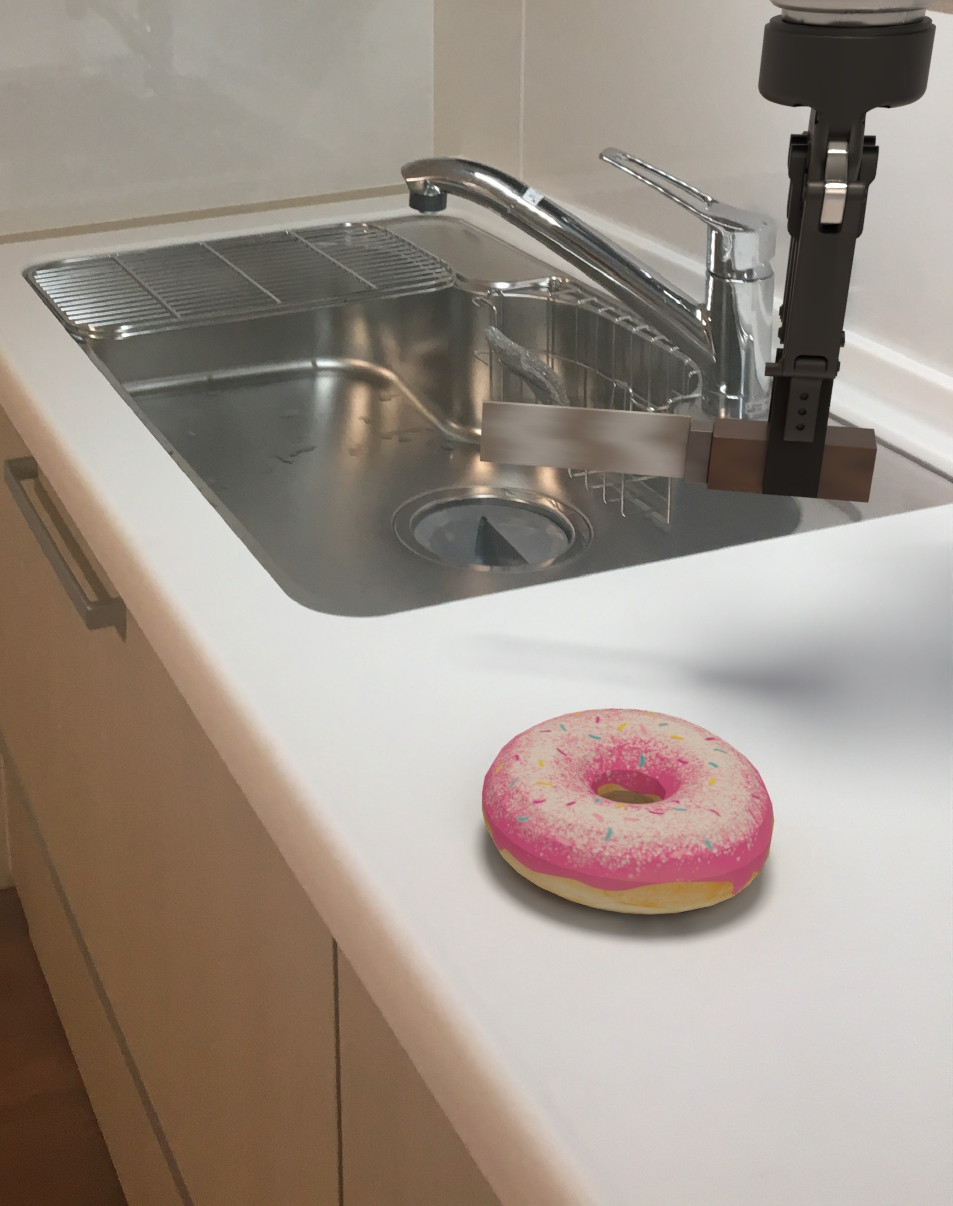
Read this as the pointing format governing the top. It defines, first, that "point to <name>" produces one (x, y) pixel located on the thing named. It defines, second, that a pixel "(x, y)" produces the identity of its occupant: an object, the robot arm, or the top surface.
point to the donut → (628, 811)
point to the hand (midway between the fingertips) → (789, 479)
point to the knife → (665, 447)
